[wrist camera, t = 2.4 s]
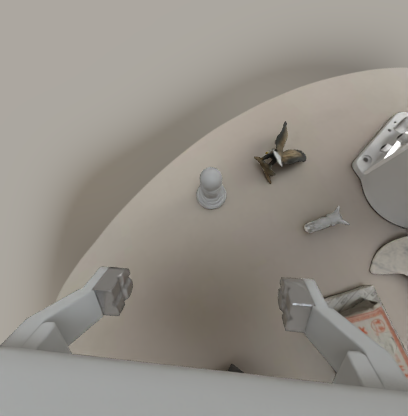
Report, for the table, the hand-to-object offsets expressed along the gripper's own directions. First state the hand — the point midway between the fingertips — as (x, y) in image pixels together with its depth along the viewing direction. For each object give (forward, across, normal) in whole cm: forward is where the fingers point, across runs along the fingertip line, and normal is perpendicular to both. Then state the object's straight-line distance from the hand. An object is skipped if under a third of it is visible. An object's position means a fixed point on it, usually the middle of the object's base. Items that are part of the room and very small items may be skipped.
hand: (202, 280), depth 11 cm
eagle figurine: (+27, -7, +1) cm, 28 cm away
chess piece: (+25, +2, +6) cm, 26 cm away
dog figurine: (+23, -17, +10) cm, 30 cm away
